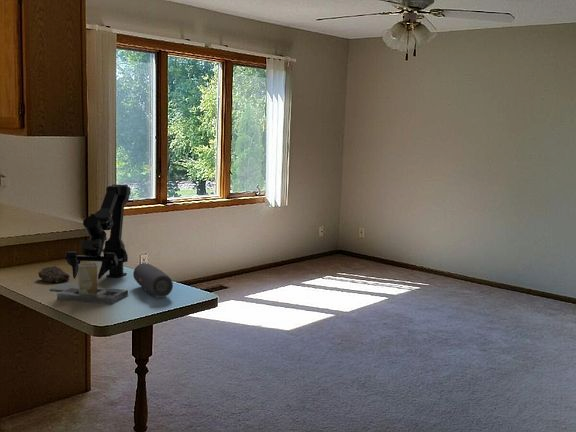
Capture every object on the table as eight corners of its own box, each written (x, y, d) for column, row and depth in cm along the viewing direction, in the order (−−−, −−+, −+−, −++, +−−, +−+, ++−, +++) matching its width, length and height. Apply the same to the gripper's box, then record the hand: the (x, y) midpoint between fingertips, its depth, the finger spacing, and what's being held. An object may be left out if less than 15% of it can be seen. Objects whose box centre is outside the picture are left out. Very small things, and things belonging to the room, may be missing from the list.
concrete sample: (36, 279, 252) (36, 267, 251) (61, 276, 258) (60, 264, 257) (45, 285, 243) (45, 272, 242) (71, 281, 249) (70, 269, 249)
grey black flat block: (75, 290, 235) (75, 285, 235) (128, 295, 231) (127, 289, 230) (57, 299, 224) (57, 293, 224) (111, 303, 219) (111, 298, 219)
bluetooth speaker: (131, 287, 242) (131, 262, 240) (154, 284, 246) (154, 260, 245) (149, 302, 222) (149, 275, 221) (174, 298, 227) (174, 272, 226)
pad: (63, 284, 244) (63, 283, 244) (83, 286, 242) (83, 284, 242) (49, 290, 235) (49, 288, 235) (70, 292, 233) (70, 290, 233)
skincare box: (80, 299, 224) (79, 266, 222) (78, 296, 228) (77, 264, 226) (98, 297, 227) (97, 265, 225) (96, 294, 231) (95, 262, 229)
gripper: (65, 230, 229) (54, 265, 219) (115, 231, 228) (105, 267, 218) (74, 247, 237) (64, 281, 228) (122, 248, 237) (113, 283, 227)
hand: (86, 278), depth 225 cm, fingers open, 9 cm apart
